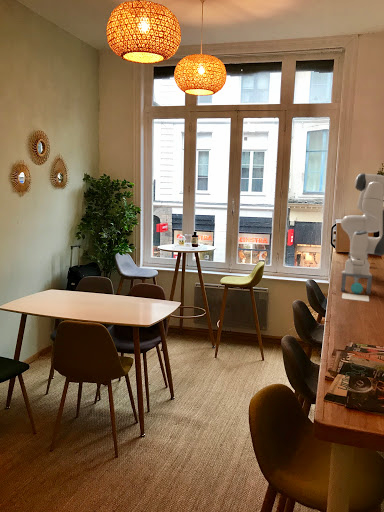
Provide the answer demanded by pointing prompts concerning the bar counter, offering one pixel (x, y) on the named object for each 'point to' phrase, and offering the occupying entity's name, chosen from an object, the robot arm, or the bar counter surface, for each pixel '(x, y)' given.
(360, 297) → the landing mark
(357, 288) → the ball
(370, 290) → the bridge
